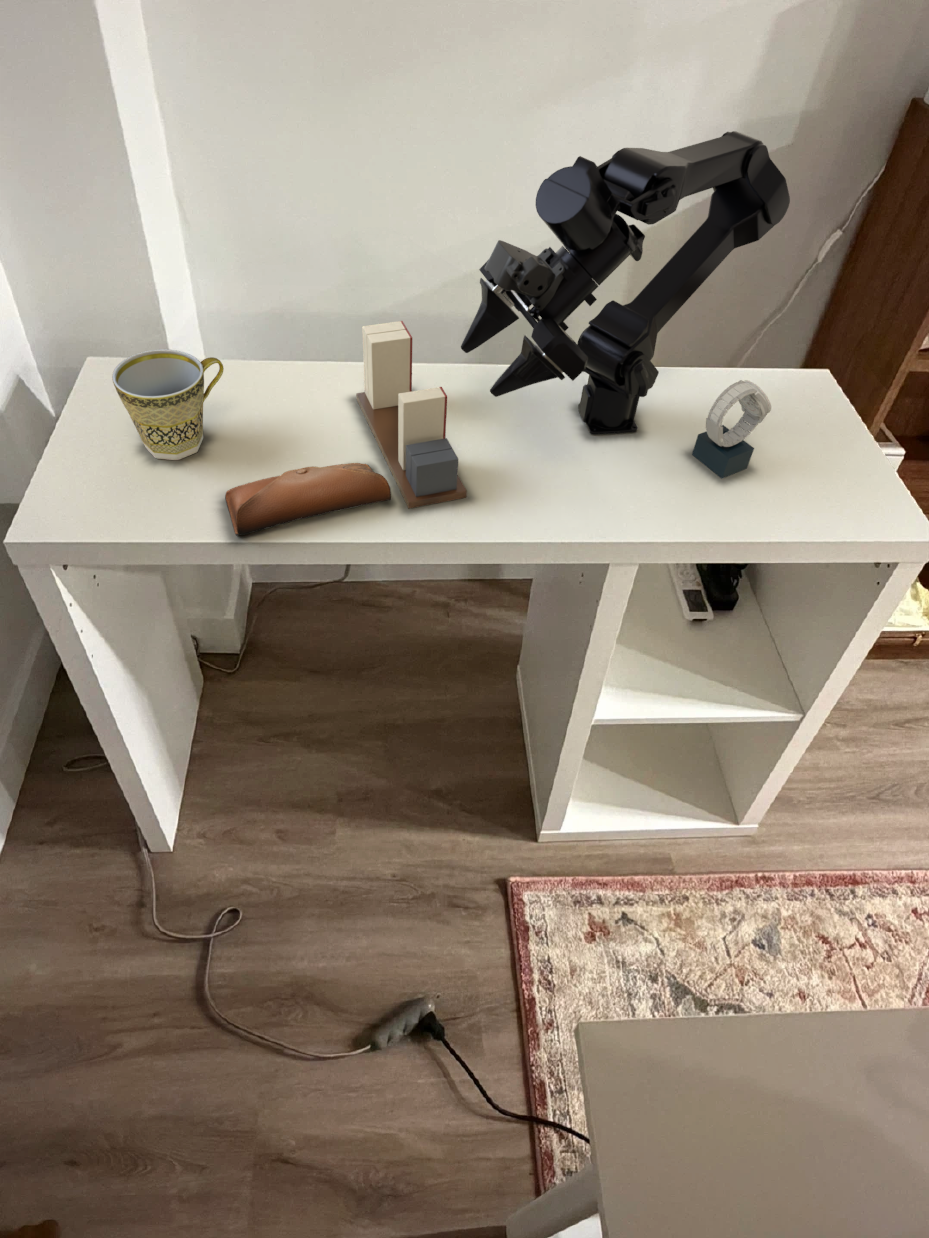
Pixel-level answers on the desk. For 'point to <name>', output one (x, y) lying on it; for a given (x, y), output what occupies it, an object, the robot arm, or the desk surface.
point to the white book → (420, 418)
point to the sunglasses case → (303, 495)
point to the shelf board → (387, 438)
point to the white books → (386, 363)
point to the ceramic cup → (165, 399)
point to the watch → (728, 446)
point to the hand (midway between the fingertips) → (477, 371)
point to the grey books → (431, 467)
